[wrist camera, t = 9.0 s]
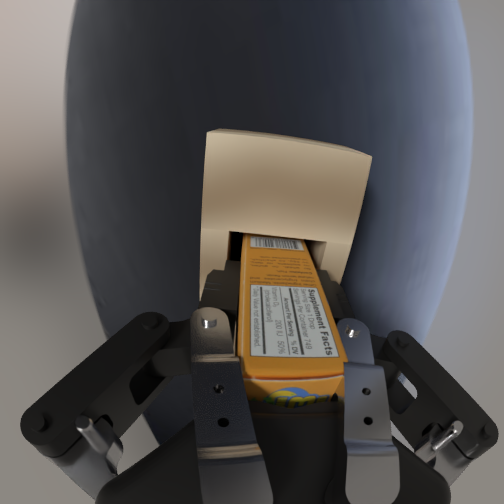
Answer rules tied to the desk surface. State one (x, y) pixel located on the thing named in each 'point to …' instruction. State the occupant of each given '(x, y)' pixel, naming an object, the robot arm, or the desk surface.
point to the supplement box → (285, 325)
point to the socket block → (280, 196)
